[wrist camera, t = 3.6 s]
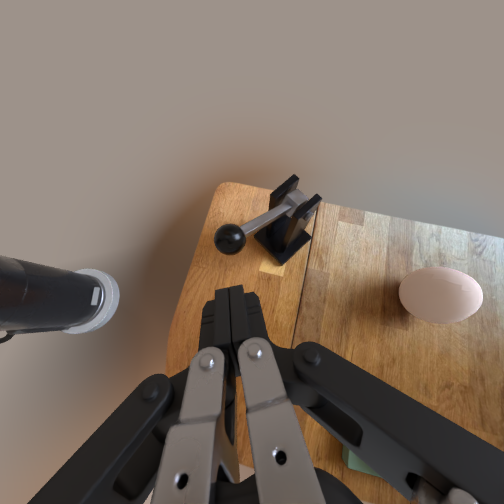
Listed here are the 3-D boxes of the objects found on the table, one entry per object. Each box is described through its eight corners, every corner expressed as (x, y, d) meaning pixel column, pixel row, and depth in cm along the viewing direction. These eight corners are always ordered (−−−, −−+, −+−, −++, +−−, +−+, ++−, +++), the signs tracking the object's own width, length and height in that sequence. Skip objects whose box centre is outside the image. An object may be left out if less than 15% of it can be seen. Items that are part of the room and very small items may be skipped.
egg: (412, 332, 37) (478, 340, 26) (376, 291, 39) (423, 283, 28) (445, 302, 38) (522, 297, 27) (409, 264, 40) (466, 246, 29)
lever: (225, 266, 21) (233, 248, 19) (205, 244, 22) (210, 224, 20) (301, 215, 30) (314, 198, 28) (285, 201, 31) (296, 183, 29)
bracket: (281, 266, 41) (297, 237, 25) (253, 237, 42) (251, 195, 27) (310, 239, 42) (341, 197, 27) (281, 212, 44) (295, 158, 29)
